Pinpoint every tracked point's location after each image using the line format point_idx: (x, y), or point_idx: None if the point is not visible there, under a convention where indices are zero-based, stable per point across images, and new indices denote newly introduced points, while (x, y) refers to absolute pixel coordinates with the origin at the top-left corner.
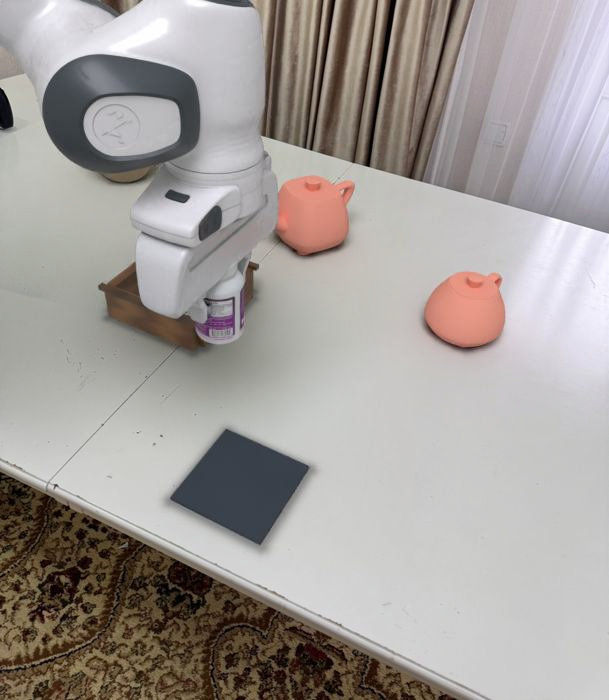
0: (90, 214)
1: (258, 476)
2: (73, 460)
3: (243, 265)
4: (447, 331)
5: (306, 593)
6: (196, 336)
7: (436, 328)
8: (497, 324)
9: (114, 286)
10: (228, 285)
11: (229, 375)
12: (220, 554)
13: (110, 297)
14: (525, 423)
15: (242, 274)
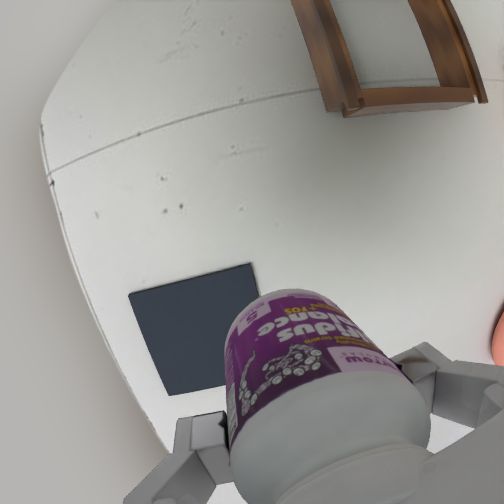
0: None
1: (224, 346)
2: (82, 162)
3: (456, 419)
4: (500, 345)
5: (171, 438)
6: (344, 106)
7: (501, 331)
8: None
9: None
10: None
11: (329, 187)
12: (133, 374)
13: None
14: (432, 430)
15: (431, 411)
